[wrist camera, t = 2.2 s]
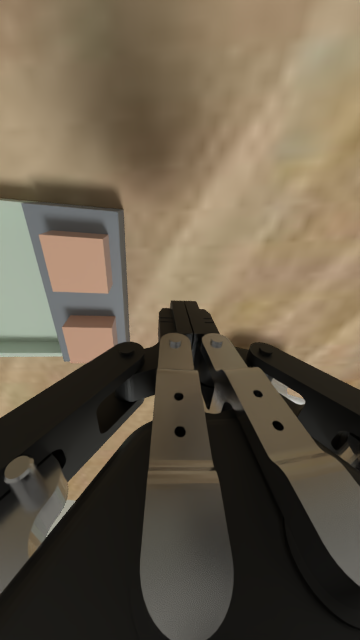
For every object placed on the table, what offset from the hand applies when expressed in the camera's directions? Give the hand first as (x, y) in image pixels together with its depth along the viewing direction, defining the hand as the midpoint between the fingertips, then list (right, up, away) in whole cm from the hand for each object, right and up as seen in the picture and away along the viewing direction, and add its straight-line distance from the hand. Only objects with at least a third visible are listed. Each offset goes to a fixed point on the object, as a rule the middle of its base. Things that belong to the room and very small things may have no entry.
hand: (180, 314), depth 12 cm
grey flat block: (-11, +4, +13) cm, 18 cm away
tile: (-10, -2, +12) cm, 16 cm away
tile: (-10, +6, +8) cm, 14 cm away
